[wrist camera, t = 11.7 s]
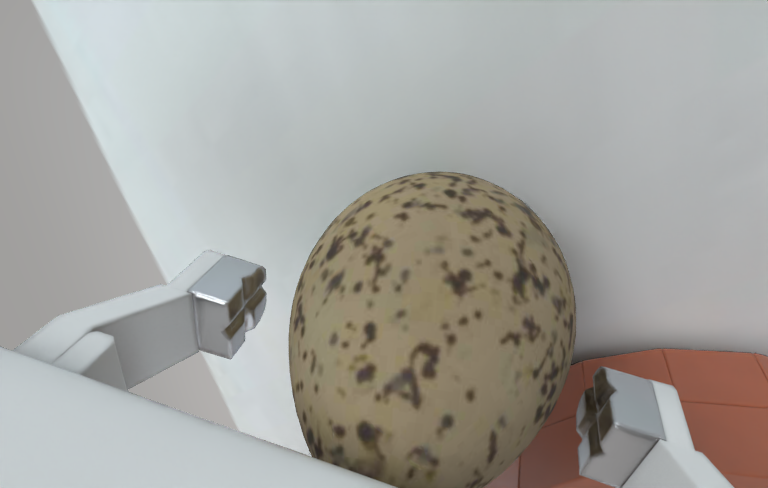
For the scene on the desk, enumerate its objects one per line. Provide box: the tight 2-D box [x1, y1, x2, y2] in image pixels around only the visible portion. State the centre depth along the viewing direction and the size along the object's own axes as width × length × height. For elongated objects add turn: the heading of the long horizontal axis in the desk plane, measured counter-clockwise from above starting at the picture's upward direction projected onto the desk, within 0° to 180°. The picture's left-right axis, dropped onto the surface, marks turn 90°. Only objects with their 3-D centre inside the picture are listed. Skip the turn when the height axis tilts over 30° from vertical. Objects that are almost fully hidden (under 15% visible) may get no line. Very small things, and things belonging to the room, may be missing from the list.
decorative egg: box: [289, 172, 576, 488], centre depth 12 cm, size 7×7×10 cm
